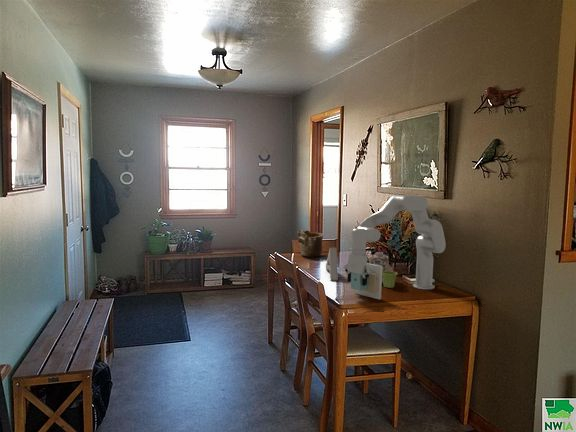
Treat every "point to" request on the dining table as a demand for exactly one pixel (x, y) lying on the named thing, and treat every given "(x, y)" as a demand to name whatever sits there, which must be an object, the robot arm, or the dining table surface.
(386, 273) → the plant pot
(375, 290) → the wall board
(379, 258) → the decorative jar
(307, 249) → the ceramic vessel
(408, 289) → the dining table surface
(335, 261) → the wall bracket
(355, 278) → the teal cabinet
